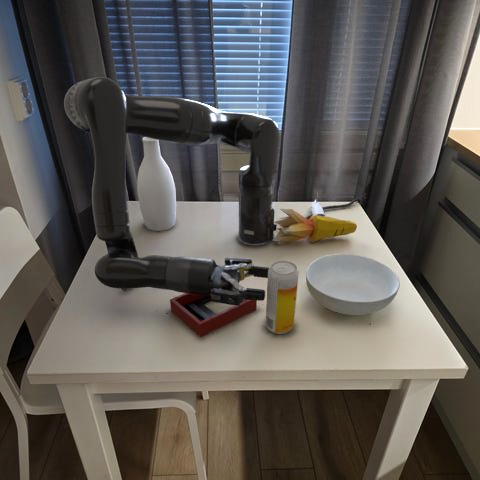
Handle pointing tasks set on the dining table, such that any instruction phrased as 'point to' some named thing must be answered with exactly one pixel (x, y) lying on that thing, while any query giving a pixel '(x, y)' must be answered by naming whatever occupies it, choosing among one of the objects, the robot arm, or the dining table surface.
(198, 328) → the red picture frame
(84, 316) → the dining table surface
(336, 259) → the serving bowl
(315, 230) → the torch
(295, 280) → the lager tin can
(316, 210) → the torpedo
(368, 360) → the dining table surface
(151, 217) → the bottle
